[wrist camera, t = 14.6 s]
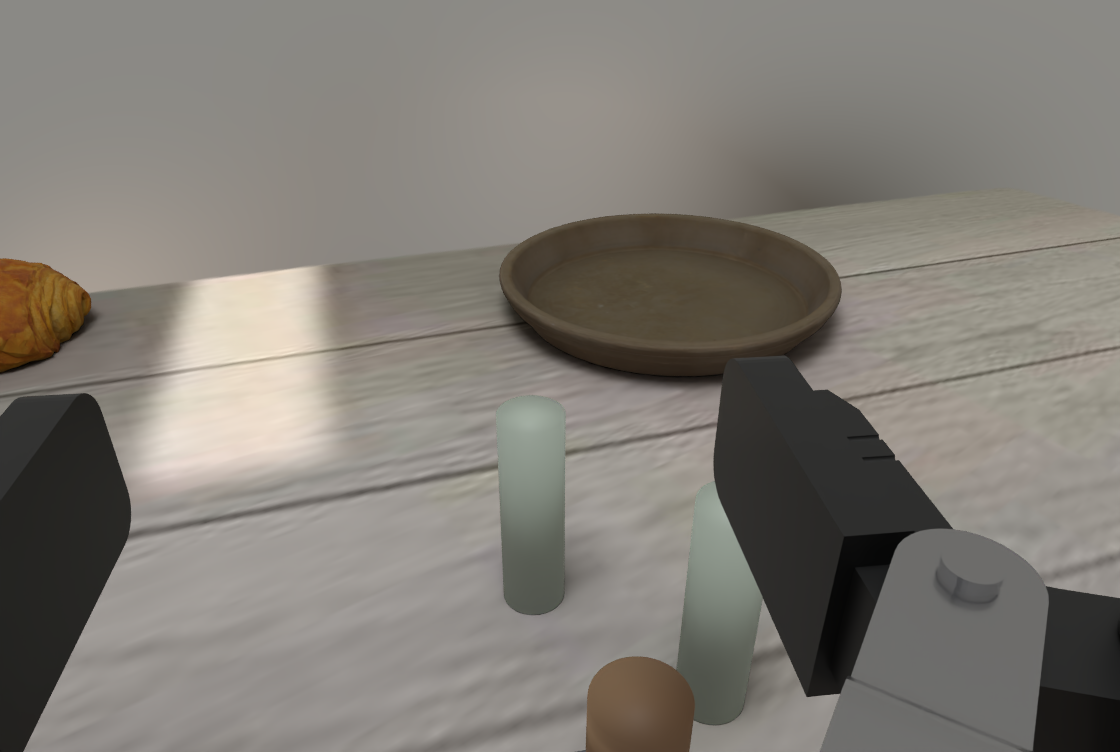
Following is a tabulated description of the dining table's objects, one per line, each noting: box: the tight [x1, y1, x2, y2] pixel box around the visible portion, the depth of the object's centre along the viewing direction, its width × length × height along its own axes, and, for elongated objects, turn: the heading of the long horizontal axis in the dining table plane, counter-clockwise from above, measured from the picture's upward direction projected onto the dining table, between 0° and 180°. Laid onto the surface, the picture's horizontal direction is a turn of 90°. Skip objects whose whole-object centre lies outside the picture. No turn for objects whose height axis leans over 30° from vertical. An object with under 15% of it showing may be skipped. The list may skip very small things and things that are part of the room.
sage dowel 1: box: [496, 395, 565, 615], centre depth 44 cm, size 3×3×12 cm
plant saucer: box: [499, 214, 842, 376], centre depth 77 cm, size 31×31×5 cm
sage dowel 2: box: [677, 481, 763, 725], centre depth 38 cm, size 3×3×12 cm
